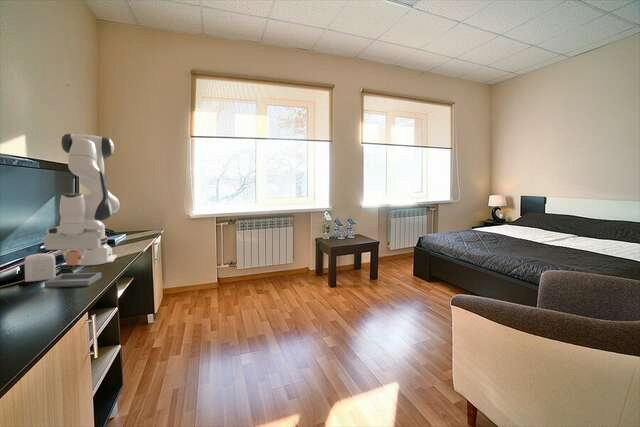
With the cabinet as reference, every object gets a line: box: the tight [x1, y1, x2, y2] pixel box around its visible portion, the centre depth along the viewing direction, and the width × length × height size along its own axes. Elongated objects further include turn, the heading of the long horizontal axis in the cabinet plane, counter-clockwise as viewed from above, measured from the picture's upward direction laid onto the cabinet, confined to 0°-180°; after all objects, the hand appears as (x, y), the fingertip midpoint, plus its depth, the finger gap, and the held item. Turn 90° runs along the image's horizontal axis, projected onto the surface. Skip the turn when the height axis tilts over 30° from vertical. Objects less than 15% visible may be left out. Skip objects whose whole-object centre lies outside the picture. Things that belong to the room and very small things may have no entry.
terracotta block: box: [65, 249, 82, 266], centre depth 128 cm, size 4×4×6 cm
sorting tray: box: [44, 272, 102, 289], centre depth 130 cm, size 12×16×2 cm
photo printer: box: [24, 253, 57, 283], centre depth 131 cm, size 10×4×12 cm, turn 124°
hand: (74, 258), depth 129 cm, fingers closed on terracotta block, 4 cm apart
